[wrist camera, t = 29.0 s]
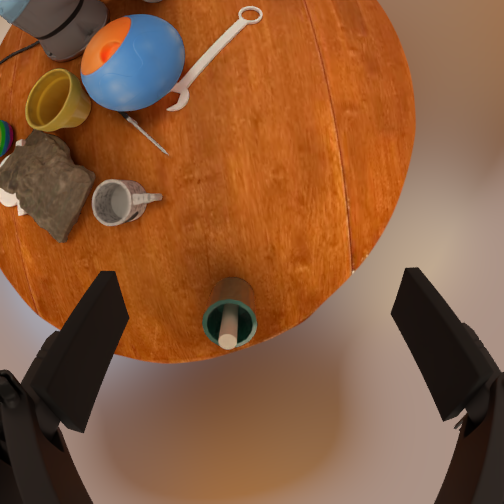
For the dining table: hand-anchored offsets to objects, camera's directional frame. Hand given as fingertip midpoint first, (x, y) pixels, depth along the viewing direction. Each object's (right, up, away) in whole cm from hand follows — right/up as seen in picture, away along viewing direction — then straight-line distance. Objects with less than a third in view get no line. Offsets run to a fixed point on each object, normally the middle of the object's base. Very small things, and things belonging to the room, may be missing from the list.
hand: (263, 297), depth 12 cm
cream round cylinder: (-4, -6, +34) cm, 35 cm away
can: (-4, -6, +35) cm, 35 cm away
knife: (-18, +22, +28) cm, 40 cm away
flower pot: (-32, +27, +27) cm, 50 cm away
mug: (-19, +10, +31) cm, 38 cm away
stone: (-31, +17, +21) cm, 41 cm away
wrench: (-9, +36, +25) cm, 45 cm away
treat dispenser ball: (-11, +34, +20) cm, 41 cm away
